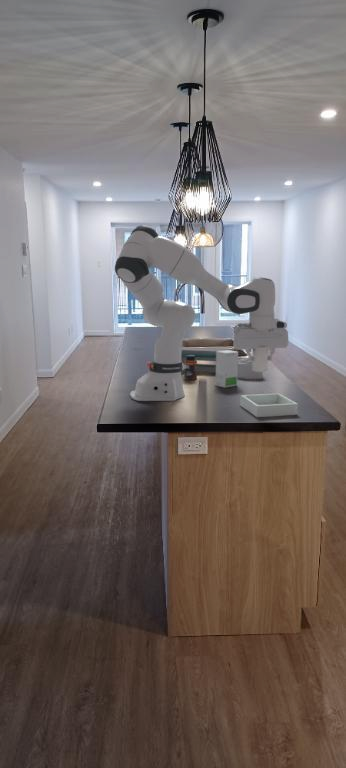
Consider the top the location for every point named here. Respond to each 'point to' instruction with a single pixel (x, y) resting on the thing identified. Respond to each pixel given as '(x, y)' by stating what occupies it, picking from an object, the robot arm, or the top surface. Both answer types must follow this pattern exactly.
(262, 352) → the white cup
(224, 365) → the skincare box
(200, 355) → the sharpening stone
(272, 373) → the top surface
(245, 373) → the lumpy-topped squat cylinder
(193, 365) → the supplement bottle
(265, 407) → the sage tray
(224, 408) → the top surface
